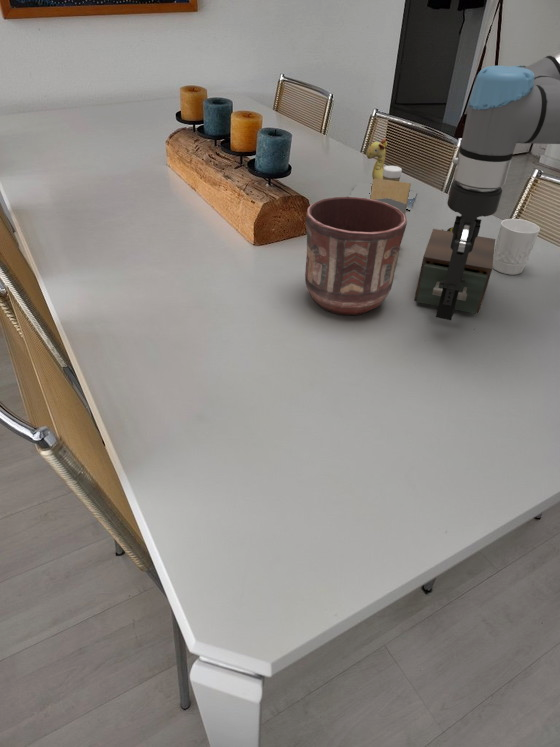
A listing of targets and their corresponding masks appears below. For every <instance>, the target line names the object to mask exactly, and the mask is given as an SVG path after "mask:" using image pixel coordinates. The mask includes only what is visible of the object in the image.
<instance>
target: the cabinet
mask: <svg viewBox="0 0 560 747" xmlns="http://www.w3.org/2000/svg"><path fill="white" fill-rule="evenodd" d="M452 238H453V232H450V231H447V230H444V229H438V228H432V231H431V234H430V236H429V239H428V242H427V245H426V248H425V251H424V254H423V256H422V261H421V265H420V270H419V275H418V281H417V284H416V288H415V294H414V299H413V301H415V302H417V297H418V292H419V288H420V283H421V278H422V274H423V269H424V265H425V263H426V264H429V262H434V263H440V264H445V265H449V264H450V259H451V255H452V251H453V250H452V249H451V242H452ZM495 246H496V238H491V237H487V236H485V237H484V236H479V235H478V236H477V237H476V238H475V242H474V246H473V249H472V251H471V252H469V254H468V257H467V261H466V265H465V268H467V269H473V270H478V271H483V274H486V275H487V279H486V282H485V285H484V289H483V292H482V295H481V299H480V302H479V305H478V309H477V312H476V314H479V313H480V311H481V307H482V304H483V300H484V298H485V294H486V292H487V287H488V285H489V282H490V278H491V274H492V271H493V267H492V266H493V258H494V251H495Z"/></svg>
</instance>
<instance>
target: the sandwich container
mask: <svg viewBox="0 0 560 747" xmlns="http://www.w3.org/2000/svg"><path fill="white" fill-rule="evenodd" d="M371 184H372V189H371V195H370V199H373V200H377V201H381V202H384V203H387V204H389V205H391V206H393V207H396V208H398V209H399V210H400V211H401V212H402V213H403V214H404V215H406V214H407V210H406V208H407V203H408V197H409V192H410V190H411V185H412V184H411V182H406V181H400V180H399V181H392V180H383V179H373V178H372V183H371ZM399 253H400V251H399V252H398V254H399ZM398 258H399V255H398V256H397V260H396V264H397V263H398ZM396 267H397V265H396V266H395V269H396Z"/></svg>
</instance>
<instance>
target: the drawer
mask: <svg viewBox="0 0 560 747" xmlns="http://www.w3.org/2000/svg"><path fill="white" fill-rule="evenodd" d="M448 267H449V265H445V264H440V263H434V262H429V264H426V263H425V265H424V269H423V274H422V278H421V283H420V288H419V292H418V297H417V301H416V303H421V304H426V305H431V306H435V307H438V306H439V302H440V297H441V293H442V289H443V286H440V282H441V280H442V281H445V280H446V275H447V272H448V270H447V269H448ZM465 270H466V271H465ZM462 277H463V278H466V279H465V283H460V284H461V287H460V289H459V293H458V296H457V300H456V304H455V308H454V311H460V312H465V313H471V314H477V313H476V312H477V309H478V305H479V302H480V299H481V295H482V292H483V289H484V285H485V282H486V279H487V275H486V274H483V271H478V270H473V269H467V268H464V272H463V276H462Z"/></svg>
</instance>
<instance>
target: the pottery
mask: <svg viewBox="0 0 560 747" xmlns="http://www.w3.org/2000/svg"><path fill="white" fill-rule="evenodd" d="M305 216H306V218H305V227H306V229H305V230H306V258H305V271H304V282H305V286H306V288H307V291H308V293H309V295H310V296H311V298H312V300H313V301H314V302H315V303H316V304H317V305H318V306H319V307H321V309H323V310H325V311H327V312H329V313H332V314H334V315H335V314H336V315H340V316H358V315H359V316H360V315H363V314H365V313H369V312H370V311H372V310H374V309H376V308H378V307H379V306H380V305H381V304H382V302H383V301H384V300H385V299H386V298H387V297H388V295H389V294H390V292H391V290H392V287H393V283H394V278H395V272H396V268H395V266H396V267H397V263H396V260H397V261H398V258H397V256H398V257H399V253H400V249H401V244H402V241H403V238H404V234H405V232H406V229H407V228H406V227H407V224H408V221H407V216H406V214H405V215H404V214H403V213H402V212H401V211H400V210H399V209H398V208H396V207H393V206H391V205H389V204H387V203H384V202H381V201H377V200H373V199H367V198H360V197H349V196H337V197H328V198H322V199H320V200H318V201H315V202H313V203H311V204H310V205H309V206H308V207H307V209H306V215H305ZM398 252H399V253H398Z"/></svg>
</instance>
